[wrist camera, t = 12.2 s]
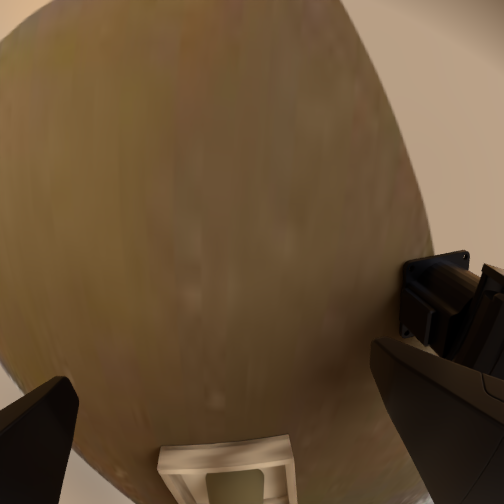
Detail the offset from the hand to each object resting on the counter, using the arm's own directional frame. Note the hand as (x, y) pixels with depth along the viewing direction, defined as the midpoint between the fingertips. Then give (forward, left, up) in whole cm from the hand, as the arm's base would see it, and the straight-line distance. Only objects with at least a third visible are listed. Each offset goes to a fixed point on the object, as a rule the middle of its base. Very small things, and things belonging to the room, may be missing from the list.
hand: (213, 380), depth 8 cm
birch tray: (+3, +24, -13) cm, 27 cm away
